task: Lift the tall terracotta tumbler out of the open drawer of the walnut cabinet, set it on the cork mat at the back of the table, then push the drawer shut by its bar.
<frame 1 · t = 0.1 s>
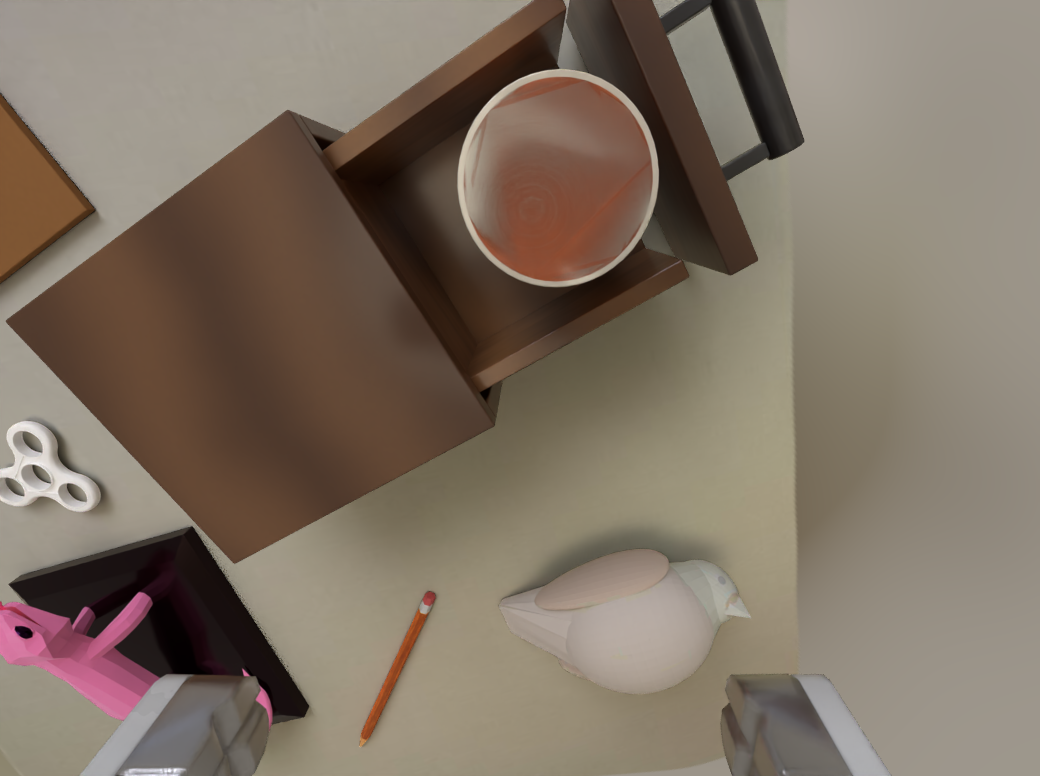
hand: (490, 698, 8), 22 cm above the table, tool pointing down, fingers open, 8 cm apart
pencil: (394, 671, 39), on the table
decorative bird: (608, 583, 35), on the table
dark display base: (169, 636, 38), on the table
cabinet: (342, 323, 29), on the table
drawer: (569, 181, 21), point 5 cm above the table, slide at 11.0 cm, touching tumbler
fidget spinner: (43, 473, 33), on the table
tumbler: (546, 196, 24), point 2 cm above the table, touching drawer
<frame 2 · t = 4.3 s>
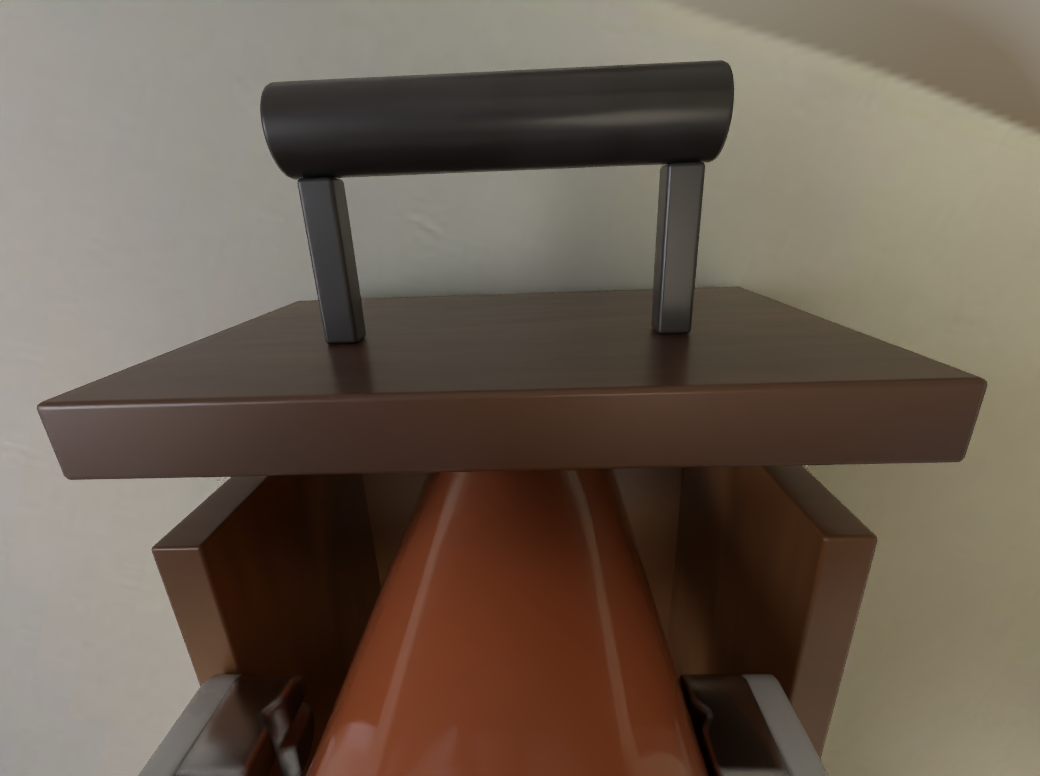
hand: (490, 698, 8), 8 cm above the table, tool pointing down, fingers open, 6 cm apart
drawer: (517, 517, 12), point 5 cm above the table, slide at 10.5 cm, touching gripper, tumbler
tumbler: (521, 491, 14), point 2 cm above the table, touching drawer, gripper
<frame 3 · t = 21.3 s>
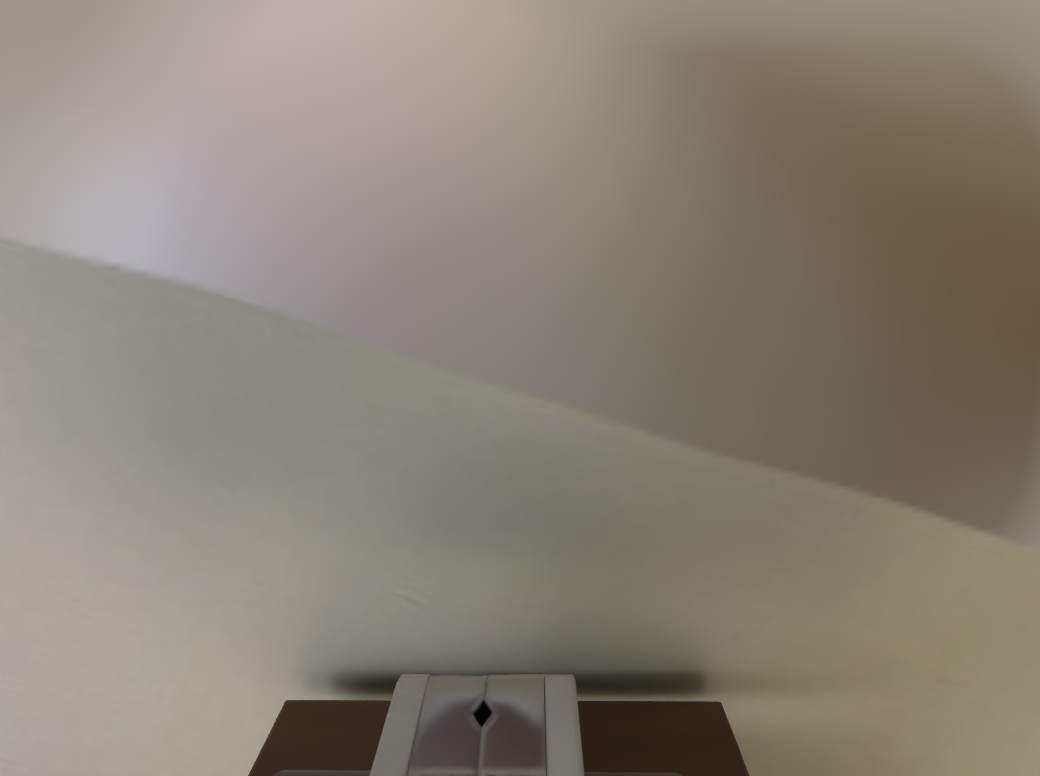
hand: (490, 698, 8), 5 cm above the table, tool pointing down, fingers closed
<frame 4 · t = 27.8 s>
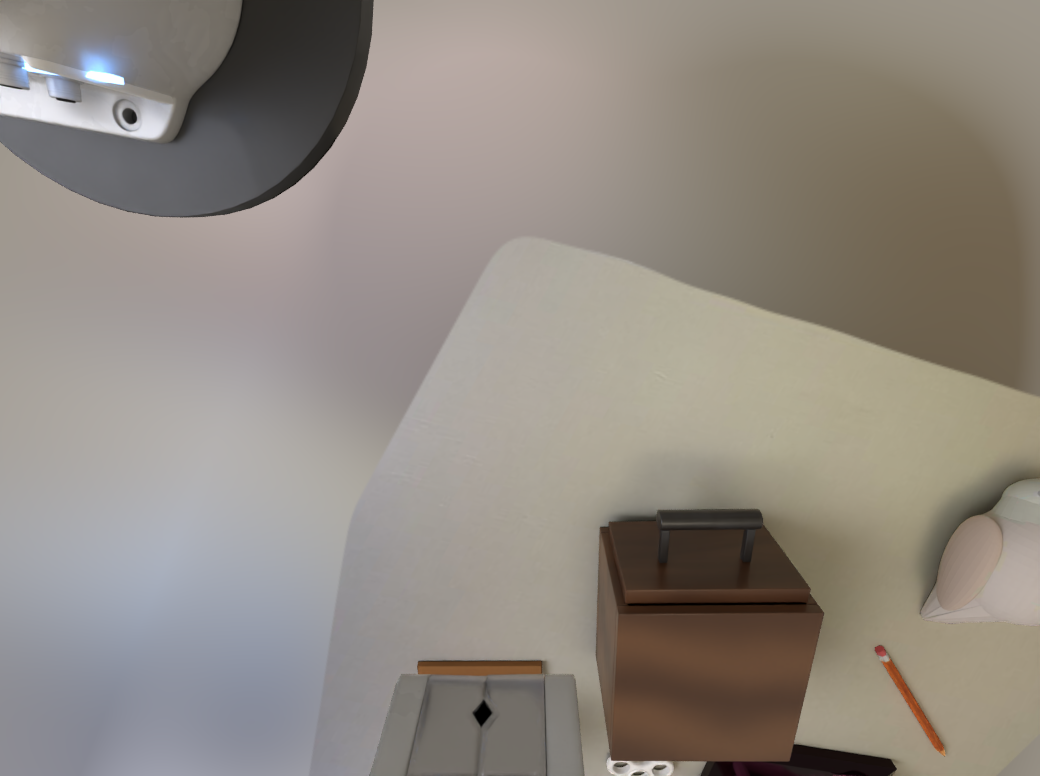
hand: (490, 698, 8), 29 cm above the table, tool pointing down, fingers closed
pencil: (909, 700, 48), on the table
decorative bird: (971, 543, 42), on the table
cabinet: (673, 594, 44), on the table
drawer: (693, 600, 38), point 5 cm above the table, slide at 0.0 cm
fidget spinner: (636, 771, 52), on the table
mat: (483, 705, 49), on the table
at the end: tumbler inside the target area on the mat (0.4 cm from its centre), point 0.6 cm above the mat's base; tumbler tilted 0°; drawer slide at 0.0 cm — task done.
